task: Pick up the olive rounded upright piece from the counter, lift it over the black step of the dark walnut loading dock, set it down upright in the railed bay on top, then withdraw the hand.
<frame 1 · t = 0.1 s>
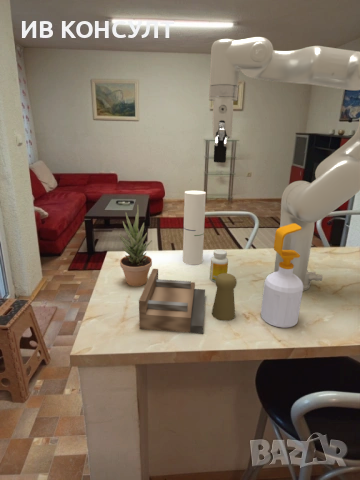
hand: (219, 160, 89), 37 cm above the breakfast bar, tool pointing down, fingers open, 9 cm apart
loading dock: (169, 310, 83), on the breakfast bar
potted plant: (137, 282, 98), on the breakfast bar
supplement bottle: (218, 280, 101), on the breakfast bar
olive rounded upright piece: (223, 314, 82), on the breakfast bar
cylindrical container: (192, 261, 115), on the breakfast bar
soap bottle: (278, 318, 80), on the breakfast bar
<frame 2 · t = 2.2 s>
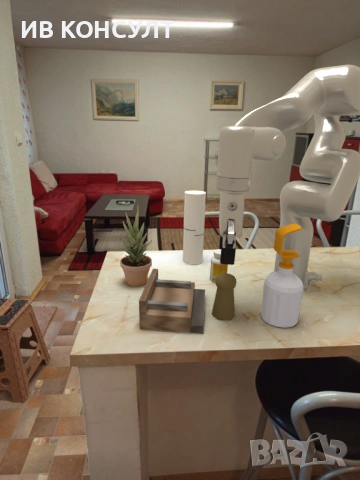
hand: (226, 256, 76), 16 cm above the breakfast bar, tool pointing down, fingers open, 9 cm apart
nothing on the breakfast bar moved.
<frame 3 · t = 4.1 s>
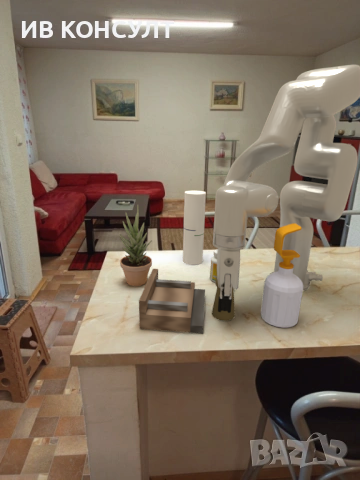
hand: (223, 306, 81), 2 cm above the breakfast bar, tool pointing down, fingers closed on olive rounded upright piece, 4 cm apart
olive rounded upright piece: (223, 314, 82), on the breakfast bar, touching gripper
everything else where it was.
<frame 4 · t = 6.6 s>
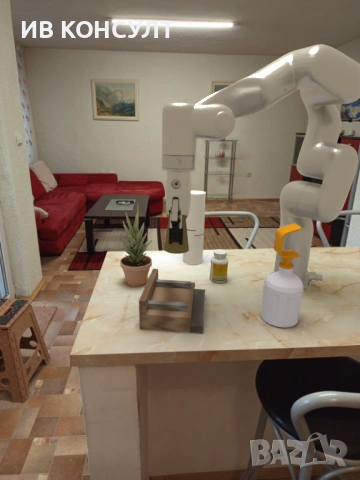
hand: (176, 240, 76), 20 cm above the breakfast bar, tool pointing down, fingers closed on olive rounded upright piece, 4 cm apart
olive rounded upright piece: (176, 250, 77), point 17 cm above the breakfast bar, touching gripper
everything else where it was.
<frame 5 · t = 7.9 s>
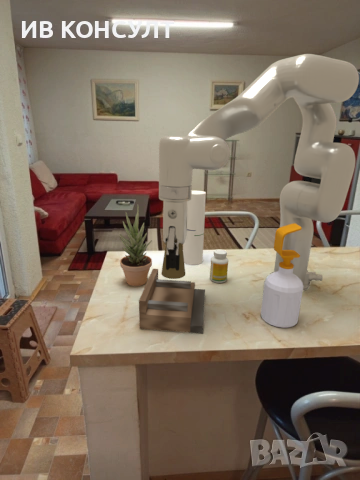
hand: (173, 265, 78), 13 cm above the breakfast bar, tool pointing down, fingers closed on olive rounded upright piece, 4 cm apart
olive rounded upright piece: (173, 274, 79), point 10 cm above the breakfast bar, touching gripper
everything else where it was.
when the fingers open (8 cm above the breakfast bar, at t = 9.1 s): olive rounded upright piece drops 1 cm, resting on loading dock.
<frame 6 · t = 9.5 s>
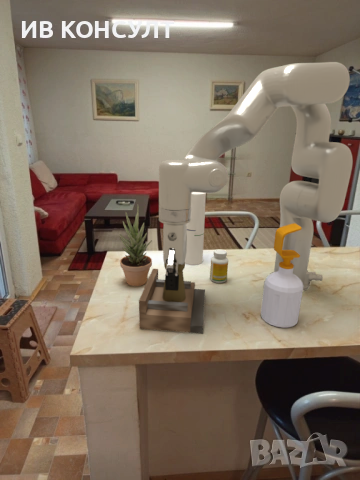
hand: (173, 281, 80), 8 cm above the breakfast bar, tool pointing down, fingers open, 7 cm apart
olive rounded upright piece: (174, 297, 81), point 4 cm above the breakfast bar, touching loading dock
everything else where it was.
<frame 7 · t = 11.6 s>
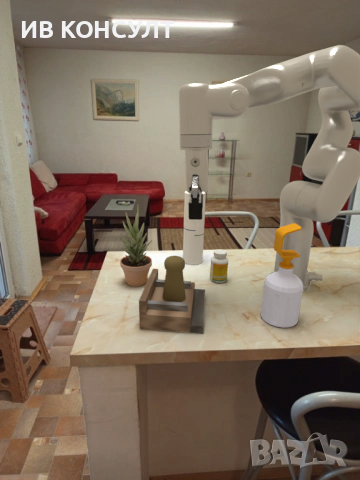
hand: (196, 213, 79), 25 cm above the breakfast bar, tool pointing down, fingers open, 9 cm apart
nothing on the breakfast bar moved.
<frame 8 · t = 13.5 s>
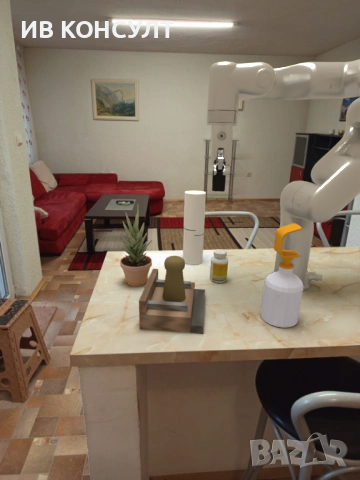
hand: (218, 187, 84), 30 cm above the breakfast bar, tool pointing down, fingers open, 9 cm apart
nothing on the breakfast bar moved.
at the end: olive rounded upright piece inside the target area (0.1 cm from its centre), point 3.8 cm above the breakfast bar; olive rounded upright piece tilted 0°; olive rounded upright piece touching loading dock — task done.
